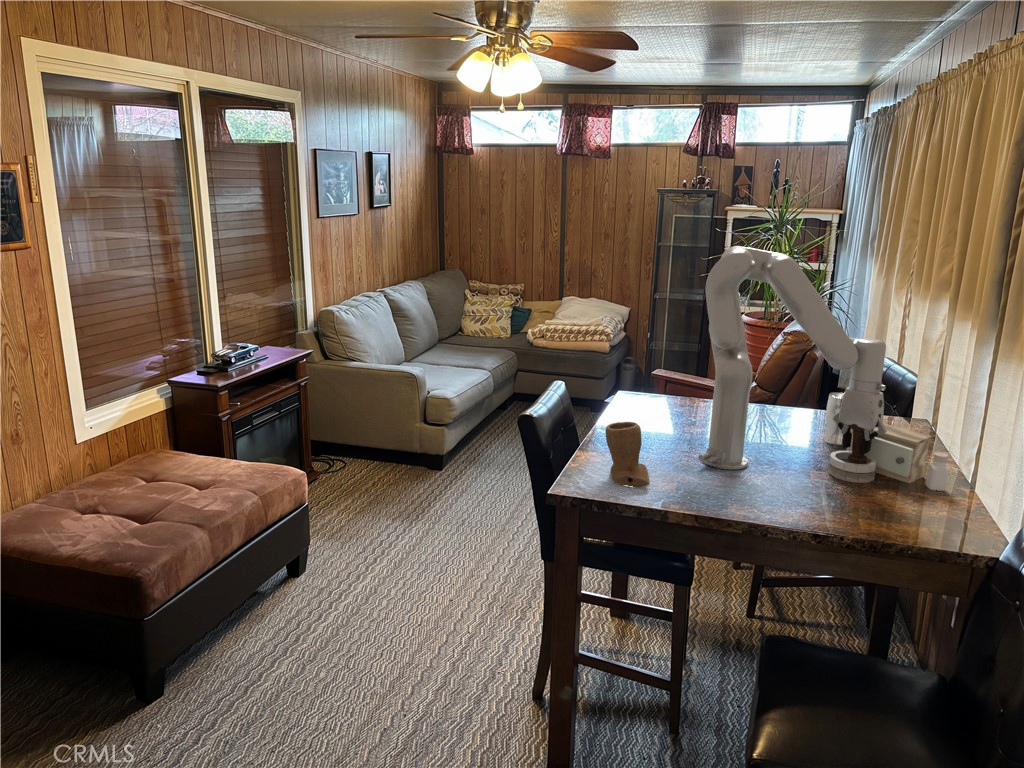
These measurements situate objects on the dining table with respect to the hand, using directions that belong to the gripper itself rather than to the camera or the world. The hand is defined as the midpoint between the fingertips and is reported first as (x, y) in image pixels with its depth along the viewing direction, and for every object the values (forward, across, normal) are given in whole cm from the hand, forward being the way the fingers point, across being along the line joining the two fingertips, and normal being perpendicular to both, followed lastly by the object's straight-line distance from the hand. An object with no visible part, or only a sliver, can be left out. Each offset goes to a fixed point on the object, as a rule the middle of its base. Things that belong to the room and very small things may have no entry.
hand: (855, 449), depth 198 cm
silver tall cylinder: (+8, +17, -22) cm, 29 cm away
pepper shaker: (+8, -18, -9) cm, 21 cm away
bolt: (+7, -1, 0) cm, 8 cm away
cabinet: (+7, -3, -5) cm, 9 cm away
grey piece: (+4, -3, +1) cm, 6 cm away
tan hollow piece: (+7, +34, +53) cm, 64 cm away
